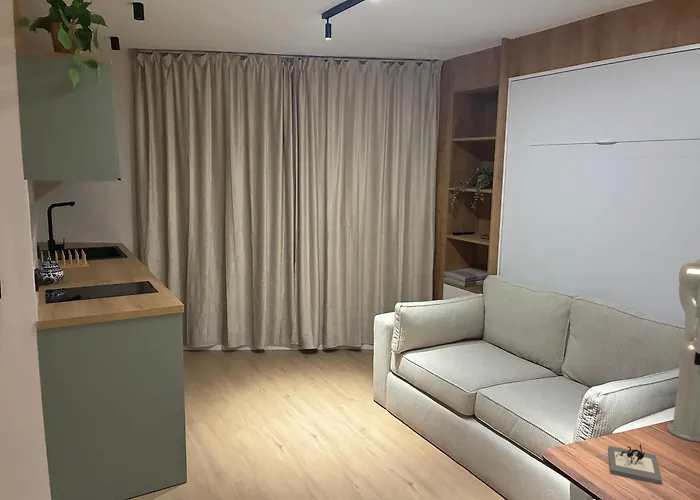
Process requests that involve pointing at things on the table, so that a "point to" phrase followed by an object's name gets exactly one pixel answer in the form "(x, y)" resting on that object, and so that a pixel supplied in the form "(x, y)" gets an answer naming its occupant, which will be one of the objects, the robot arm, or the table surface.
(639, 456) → the creature
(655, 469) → the grey picture mat
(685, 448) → the table surface
